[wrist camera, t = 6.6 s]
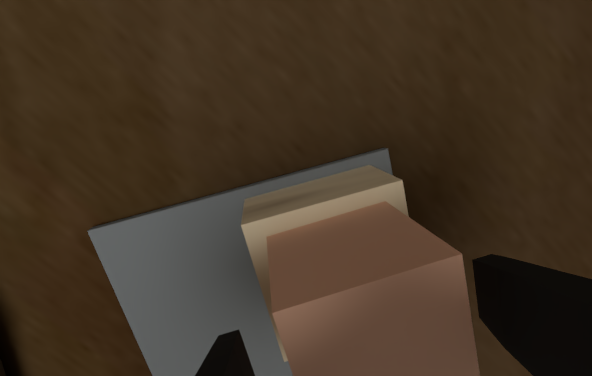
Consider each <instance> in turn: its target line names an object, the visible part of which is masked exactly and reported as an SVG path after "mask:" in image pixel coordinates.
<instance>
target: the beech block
mask: <svg viewBox="0 0 592 376" xmlns="http://www.w3.org/2000/svg"><path fill="white" fill-rule="evenodd" d="M384 201H386V202H388V203H389V204H390V205H392V206H393V207H395V208H396V209H398V210H399V211H401V212H402V213H404V214H405V215H406V216H408V217H409V215H408V210H407V204H406V198H405V192H404V186H403V180H401V179H399V178H397V177H395V176H393V175H391V174H388V173H386V172H384V171H382V170H380V169H378V168H375V167H373V166H371V165H367V166H363V167H360V168H356V169H352V170H349V171H345V172H341V173H338V174H334V175H331V176H327V177H323V178H320V179H316V180H312V181H309V182H305V183H301V184H298V185H294V186H291V187H287V188H283V189H280V190H276V191H272V192H269V193H265V194H262V195H258V196H254V197H251V198H247V199H245V200H244V207H243V214H242V221H241V227H242V230H243V233H244V237H245V240H246V243H247V246H248V249H249V252H250V256H251V259H252V262H253V265H254V268H255V271H256V275H257V278H258V281H259V284H260V287H261V290H262V293H263V297H264V300H265V303H266V306H267V309H268V312H269V316H270V319H271V322H272V325H273V328H274V331H275V335H276V338H277V341H278V344H279V347H280V350H281V353H282V357H283V360H284V362H286V361H288V359H287V356H286V353H285V350H284V347H283V344H282V341H281V338H280V335H279V332H278V329H277V326H276V323H275V320H274V317H273V314H272V305H271V292H270V278H269V265H268V251H267V236H270V235H274V234H277V233H280V232H284V231H287V230H290V229H294V228H297V227H300V226H304V225H307V224H310V223H314V222H317V221H320V220H324V219H327V218H330V217H334V216H337V215H340V214H344V213H347V212H351V211H354V210H357V209H361V208H364V207H367V206H371V205H374V204H377V203H381V202H384Z"/></svg>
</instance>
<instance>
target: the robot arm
mask: <svg viewBox="0 0 592 376" xmlns="http://www.w3.org/2000/svg"><path fill="white" fill-rule="evenodd" d="M472 261H473V270H474V278H475V286H476V295H477V303H478V311H479V318H480V319H481V320H482V321H483V322H484V324H485V325H486V326H487V327H488V329H489V330H490V331H491V332H492V334H493V335H494V336H495V337H496V338H497V340H498V341H499V342H500V343H501V344H502V345H503V347H504V348H505V349H506V350H507V351H508V352H509V353H510V354H511V355H512V356H513V357H514V358H515V359H517V360H518V361H519V362H520V363H521V364H522V365H523V366H524V367H525V368H526V369H527V370H528V371H529V372H530V373H531V374H532V375H533V376H592V279H588V278H584V277H580V276H577V275H573V274H569V273H565V272H561V271H557V270H554V269H550V268H546V267H542V266H539V265H535V264H531V263H527V262H523V261H519V260H515V259H512V258H507V257H503V256H498V255H493V254H490V255H487V256H484V257H480V258H477V259H474V260H472ZM195 376H255V374H254V371H253V368H252V365H251V362H250V359H249V356H248V354H247V351H246V348H245V345H244V342H243V339H242V336H241V334H240V331H239V329H238V330H235V331H232V332H228V333H225V334H222V335H218V337H217V339H216V340H215V342H214V344H213V345H212V347H211V349H210V351H209V352H208V354H207V356H206V357H205V359H204V361H203V363H202V364H201V366H200V368H199V370H198V371H197V373H196V375H195Z"/></svg>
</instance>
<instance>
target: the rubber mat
mask: <svg viewBox="0 0 592 376" xmlns="http://www.w3.org/2000/svg"><path fill="white" fill-rule="evenodd" d="M367 165H371V166H373V167H375V168H378V169H380V170H382V171H384V172H386V173H388V174H391V175H393V174H392V169H391V163H390V158H389V152H388V149H387V148H381V149H377V150H374V151H370V152H366V153H363V154H359V155H355V156H352V157H348V158H344V159H341V160H337V161H333V162H330V163H326V164H322V165H319V166H315V167H311V168H308V169H304V170H300V171H297V172H293V173H289V174H286V175H282V176H278V177H275V178H271V179H267V180H264V181H260V182H256V183H253V184H249V185H245V186H242V187H238V188H234V189H231V190H227V191H223V192H220V193H216V194H212V195H209V196H205V197H201V198H198V199H194V200H190V201H187V202H183V203H179V204H176V205H172V206H168V207H165V208H161V209H157V210H154V211H150V212H146V213H143V214H139V215H135V216H132V217H128V218H124V219H121V220H117V221H113V222H110V223H106V224H102V225H99V226H95V227H92V228H91V229H89V230H88V231H87V232H88V234H89V236H90V238H91V240H92V243H93V245H94V247H95V249H96V252H97V254H98V256H99V258H100V260H101V263H102V265H103V267H104V269H105V271H106V274H107V276H108V278H109V280H110V283H111V285H112V287H113V289H114V291H115V294H116V296H117V298H118V300H119V302H120V305H121V307H122V309H123V311H124V314H125V316H126V318H127V320H128V322H129V325H130V327H131V329H132V331H133V333H134V336H135V338H136V340H137V342H138V345H139V347H140V349H141V351H142V353H143V356H144V358H145V360H146V362H147V364H148V367H149V369H150V371H151V373H152V376H195V375H196V373H197V371H198V370H199V368H200V366H201V364H202V363H203V361H204V359H205V357H206V356H207V354H208V352H209V351H210V349H211V347H212V345H213V344H214V342H215V340H216V339H217V337H218V335H222V334H225V333H228V332H232V331H235V330H238V329H239V331H240V334H241V336H242V339H243V342H244V345H245V348H246V351H247V354H248V356H249V359H250V362H251V365H252V368H253V371H254V374H255V376H293V374H292V371H291V368H290V365H289V362H288V361H286V362H284V360H283V357H282V353H281V350H280V347H279V344H278V341H277V338H276V335H275V331H274V328H273V325H272V322H271V319H270V316H269V312H268V309H267V306H266V303H265V300H264V297H263V293H262V290H261V287H260V284H259V281H258V278H257V275H256V271H255V268H254V265H253V262H252V259H251V256H250V252H249V249H248V246H247V243H246V240H245V237H244V233H243V230H242V227H241V221H242V214H243V207H244V200H245V199H247V198H251V197H254V196H258V195H262V194H265V193H269V192H272V191H276V190H280V189H283V188H287V187H291V186H294V185H298V184H301V183H305V182H309V181H312V180H316V179H320V178H323V177H327V176H331V175H334V174H338V173H341V172H345V171H349V170H352V169H356V168H360V167H363V166H367Z"/></svg>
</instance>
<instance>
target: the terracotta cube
mask: <svg viewBox="0 0 592 376" xmlns="http://www.w3.org/2000/svg"><path fill="white" fill-rule="evenodd" d="M267 251H268V265H269V278H270V292H271V305H272V314H273V317H274V320H275V323H276V326H277V329H278V332H279V335H280V338H281V341H282V344H283V347H284V350H285V353H286V356H287V359H288V362H289V365H290V368H291V371H292V374H293V376H480V373H479V366H478V359H477V352H476V346H475V339H474V332H473V325H472V318H471V312H470V305H469V298H468V291H467V284H466V278H465V271H464V264H463V257H462V253H460V252H459V251H457V250H456V249H454V248H453V247H451V246H450V245H449V244H447V243H446V242H444V241H443V240H441V239H440V238H438V237H437V236H435V235H434V234H433V233H431V232H430V231H428V230H427V229H425V228H424V227H422V226H421V225H419V224H418V223H417V222H415V221H414V220H412V219H411V218H409V217H408V216H406V215H405V214H404V213H402V212H401V211H399V210H398V209H396V208H395V207H393V206H392V205H390V204H389V203H388V202H386V201H384V202H381V203H377V204H374V205H371V206H367V207H364V208H361V209H357V210H354V211H351V212H347V213H344V214H340V215H337V216H334V217H330V218H327V219H324V220H320V221H317V222H314V223H310V224H307V225H304V226H300V227H297V228H294V229H290V230H287V231H284V232H280V233H277V234H274V235H270V236H267Z"/></svg>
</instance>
